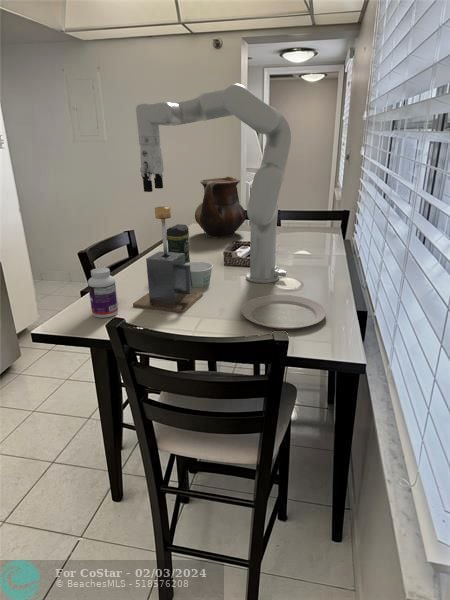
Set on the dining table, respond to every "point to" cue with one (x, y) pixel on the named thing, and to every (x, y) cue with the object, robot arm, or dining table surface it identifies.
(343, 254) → the dining table surface
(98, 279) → the pill bottle
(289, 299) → the plate
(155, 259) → the block on wooden base
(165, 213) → the plunger
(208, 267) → the food container
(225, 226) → the jug
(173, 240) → the coffee jar
